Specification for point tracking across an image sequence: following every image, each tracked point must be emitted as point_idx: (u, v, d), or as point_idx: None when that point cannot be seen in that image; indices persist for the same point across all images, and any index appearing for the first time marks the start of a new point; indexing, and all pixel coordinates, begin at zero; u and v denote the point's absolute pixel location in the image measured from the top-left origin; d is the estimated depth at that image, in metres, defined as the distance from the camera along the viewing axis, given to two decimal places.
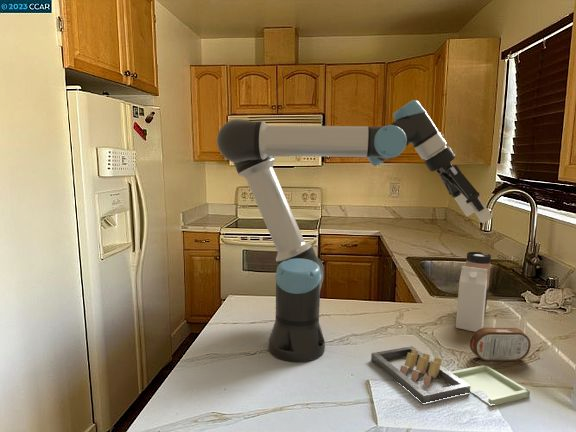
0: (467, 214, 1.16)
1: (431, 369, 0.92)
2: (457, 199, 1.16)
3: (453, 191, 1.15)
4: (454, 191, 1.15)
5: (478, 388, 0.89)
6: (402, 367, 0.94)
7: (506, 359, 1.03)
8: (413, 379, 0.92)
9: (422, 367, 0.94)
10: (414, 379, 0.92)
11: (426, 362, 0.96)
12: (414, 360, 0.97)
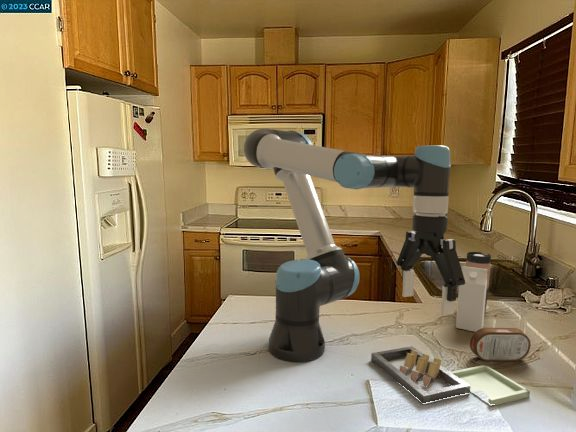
0: (405, 294, 0.99)
1: (431, 369, 0.92)
2: (406, 274, 0.98)
3: (409, 263, 0.97)
4: (409, 264, 0.98)
5: (478, 388, 0.89)
6: (401, 368, 0.94)
7: (506, 359, 1.03)
8: (412, 380, 0.92)
9: (421, 368, 0.94)
10: (413, 380, 0.91)
11: (425, 362, 0.95)
12: (413, 361, 0.97)
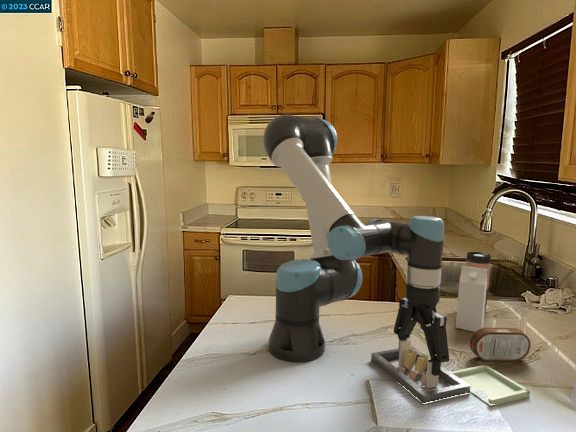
0: (401, 364, 0.98)
1: None
2: (403, 344, 0.98)
3: (405, 332, 0.97)
4: (405, 333, 0.97)
5: (478, 388, 0.89)
6: (400, 367, 0.94)
7: (506, 359, 1.03)
8: (411, 379, 0.92)
9: (420, 368, 0.94)
10: (412, 379, 0.92)
11: (424, 362, 0.95)
12: (413, 360, 0.97)
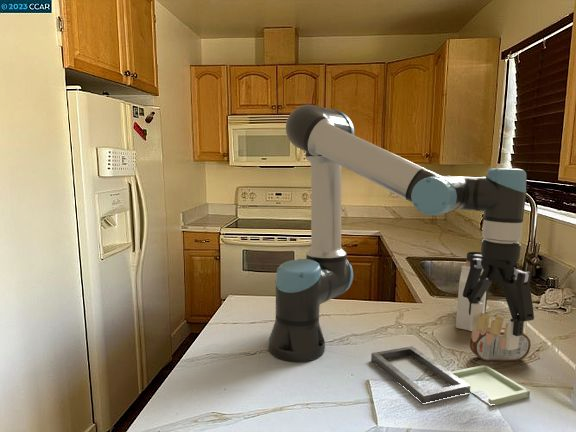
0: None
1: None
2: (475, 307, 0.92)
3: (477, 294, 0.92)
4: (478, 295, 0.92)
5: (478, 388, 0.89)
6: (474, 330, 0.89)
7: (506, 359, 1.03)
8: (488, 342, 0.86)
9: (496, 330, 0.88)
10: (489, 342, 0.86)
11: (499, 325, 0.90)
12: (486, 324, 0.92)
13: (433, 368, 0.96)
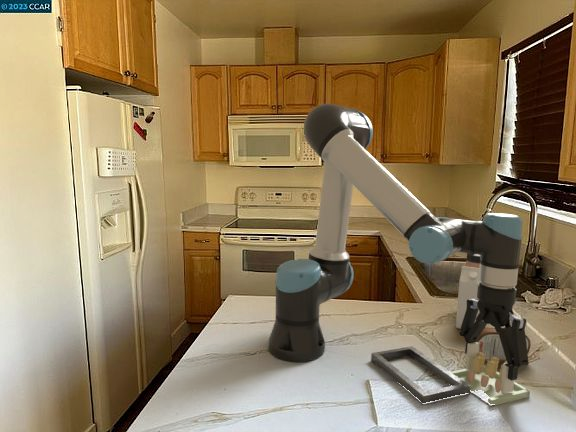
0: (469, 368, 0.94)
1: None
2: (471, 347, 0.94)
3: (474, 335, 0.93)
4: (474, 335, 0.93)
5: (478, 388, 0.89)
6: (470, 372, 0.90)
7: None
8: (483, 384, 0.88)
9: (492, 372, 0.89)
10: (484, 384, 0.88)
11: (495, 366, 0.91)
12: (482, 364, 0.93)
13: (433, 368, 0.96)
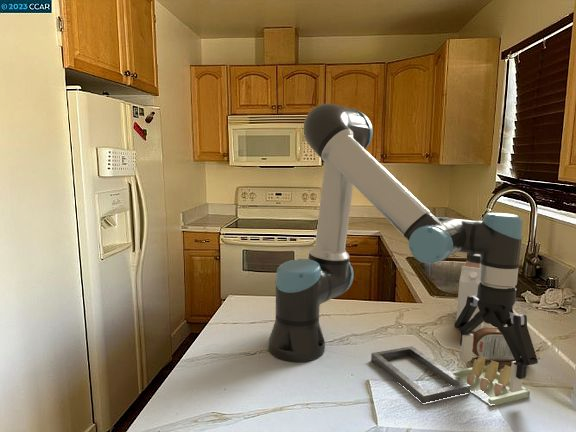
0: (464, 359, 0.96)
1: (502, 377, 0.88)
2: (466, 339, 0.95)
3: (469, 329, 0.94)
4: (469, 329, 0.95)
5: (478, 388, 0.89)
6: (470, 374, 0.90)
7: (506, 359, 1.03)
8: (482, 387, 0.88)
9: (491, 375, 0.90)
10: (483, 388, 0.88)
11: (494, 370, 0.91)
12: (481, 367, 0.93)
13: (433, 368, 0.96)
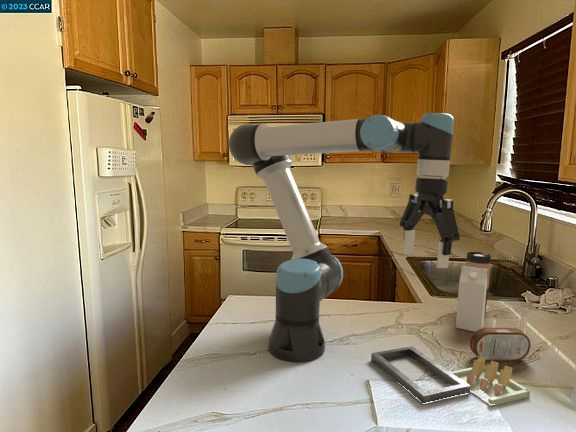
0: (406, 252, 1.08)
1: (502, 377, 0.88)
2: (407, 233, 1.07)
3: (410, 224, 1.06)
4: (411, 224, 1.07)
5: (478, 388, 0.89)
6: (469, 375, 0.90)
7: (506, 359, 1.03)
8: (482, 388, 0.88)
9: (491, 375, 0.90)
10: (483, 388, 0.88)
11: (494, 370, 0.91)
12: (481, 368, 0.93)
13: (433, 368, 0.96)
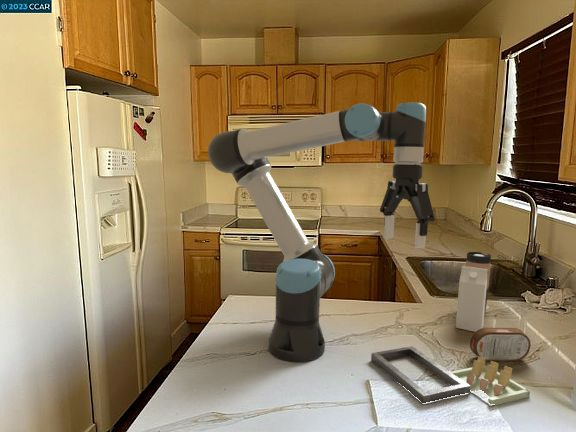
0: (386, 237, 1.13)
1: (502, 378, 0.88)
2: (387, 218, 1.13)
3: (390, 209, 1.12)
4: (390, 210, 1.12)
5: (478, 388, 0.89)
6: (469, 375, 0.90)
7: (506, 359, 1.03)
8: (482, 388, 0.88)
9: (491, 376, 0.89)
10: (483, 388, 0.88)
11: (494, 370, 0.91)
12: (481, 368, 0.93)
13: (433, 368, 0.96)
